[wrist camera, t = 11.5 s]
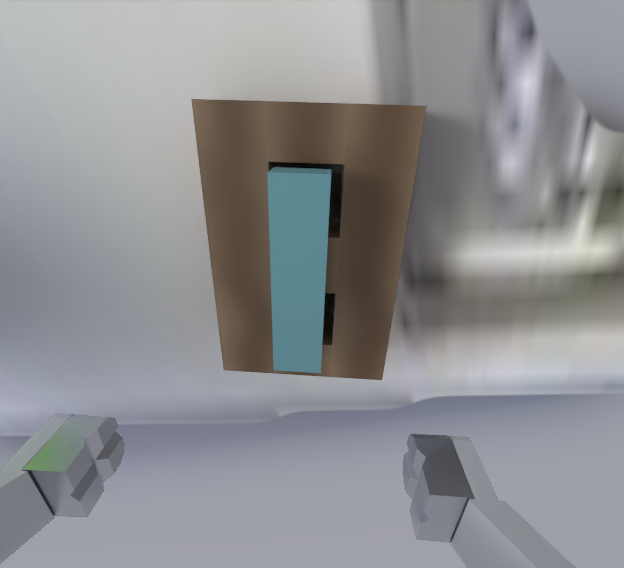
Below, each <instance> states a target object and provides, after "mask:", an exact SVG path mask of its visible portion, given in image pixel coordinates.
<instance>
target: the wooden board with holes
mask: <svg viewBox="0 0 624 568" xmlns="http://www.w3.org/2000/svg"><path fill="white" fill-rule="evenodd" d="M192 107H193V115H194V123H195V132H196V140H197V149H198V157H199V166H200V174H201V182H202V191H203V199H204V208H205V216H206V224H207V233H208V241H209V250H210V258H211V267H212V275H213V283H214V292H215V300H216V309H217V317H218V326H219V334H220V342H221V351H222V359H223V368H224V370H230V371H246V372H262V373H278V374H294V375H310V376H326V377H342V378H358V379H374V380H382V377H383V371H384V365H385V358H386V352H387V346H388V340H389V334H390V328H391V321H392V315H393V309H394V303H395V297H396V291H397V285H398V278H399V272H400V266H401V260H402V254H403V248H404V242H405V235H406V229H407V223H408V217H409V211H410V205H411V199H412V192H413V186H414V180H415V174H416V168H417V162H418V156H419V149H420V143H421V137H422V131H423V125H424V119H425V113H426V106H408V105H374V104H340V103H305V102H271V101H237V100H203V99H192ZM279 162H293V163H320V164H342V174H341V190H340V205H339V220H329V227H328V246H327V265H326V284H325V293H334V296H333V311H332V316H326V315H324V322H323V341H322V360H321V373H309V372H293V371H276V370H274V366H273V333H272V301H271V269H270V237H269V204H268V171H270V170H271V169H272V168H274V167H279Z"/></svg>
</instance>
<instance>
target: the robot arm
mask: <svg viewBox="0 0 624 568" xmlns="http://www.w3.org/2000/svg"><path fill="white" fill-rule="evenodd" d="M117 427H118V425H117V422H116V420H115V418H110V417H99V416H87V415H76V414H61V413H58V414H56V415H54V416H52V417H50V418H49V419H48V420H47V421H46V422H45V423H44V424H43V425H42V426H41V428H40V429H39V430H38V431H37V432H36V433H35V434H34V435H33V436H32V437H31V438H30V439H29V440H28V441H27V442H26V443H25V444H24V445H23V446H22V448H20V450H19V451H18V452H17V453H16V454H15V455H14V456H13V457H12V458H11V459H10V460H9V461H8V462H7V463H6V464H5V465H4V466H3V468H2V469H0V564H1V563H2V562H3V561H4V560H6V559H7V558H8V557H9V556H10V555H11V554H13V553H14V552H15V551H16V550H17V549H19V547H21V546H22V545H23V544H24V543H26V542H27V541H28V540H29V539H30V538H31V537H33V536H34V535H35V534H36V533H37V532H39V531H40V530H41V529H42V528H43V527H44V526H45V525H47V524H48V523H49V522H50V521H52V520H53V519H54V516H67V517H68V516H69V517H88V516H89V514H90V512H91V511H92V509H93V507H94V506H95V504H96V502H97V501H98V499H99V498H100V496H101V494H102V493H103V491H104V483H103V482H104V481H105V480H106V479H108V478H109V477H110V476H112V475H113V474H114V473H115V471H116V470H117V468H118V466H119V465H120V463H121V459H122V456H123V453H124V442H123V439H122V437H121V436H120V435H119V434H117V433H116V432H115V430H116V429H117ZM407 444H408V449H409V451H408V452H407V453H405V455H404V460H403V478H404V485H405V489H406V493H407V494H408V495H409V496H410V497H411V498H412V503H411V507H410V513H411V518H412V523H413V527H414V532H415V536H416V539H418V540H429V541H439V542H449V543H451V546H452V547H453V549H454V550H455V551H456V553H457V554H458V556H459V557H460V558H461V560H462V561H463V563H464V564H465V565H466V567H467V568H576V567H575V566H574V565H573V564H571V563H570V562H569V561H568V560H567V559H566V558H565V557H564V556H563V555H562V554H561V553H560V552H558V550H557V549H556V548H554V547H553V546H552V545H551V544H550V543H549V542H548V541H547V540H546V539H545V538H544V537H543V536H542V535H541V534H539V533H538V532H537V531H536V530H535V529H534V528H533V527H532V526H531V525H530V524H529V523H528V522H527V521H526V520H525V519H524V518H523V517H521V516H520V515H519V514H518V513H517V512H516V511H515V510H514V509H513V508H512V507H511V506H510V505H508V503H507V502H505V501H499V500H498V498H497V495H496V493H495V491H494V489H493V487H492V485H491V482H490V480H489V478H488V476H487V474H486V471H485V469H484V467H483V465H482V463H481V461H480V458H479V456H478V454H477V452H476V450H475V447H474V446H473V443H472V441H471V440H470V439H469V438H468V437H456V436H447V435H446V436H445V435H424V434H411V435H410V436H409V438H408V442H407Z"/></svg>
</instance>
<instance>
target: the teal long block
mask: <svg viewBox="0 0 624 568" xmlns="http://www.w3.org/2000/svg"><path fill="white" fill-rule="evenodd" d="M330 189H331V169H312V168H285V167H274V168H272V169H271V170H270V171H268V204H269V237H270V269H271V301H272V333H273V366H274V370H276V371H293V372H309V373H321V360H322V341H323V322H324V303H325V284H326V265H327V246H328V227H329V208H330Z"/></svg>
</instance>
